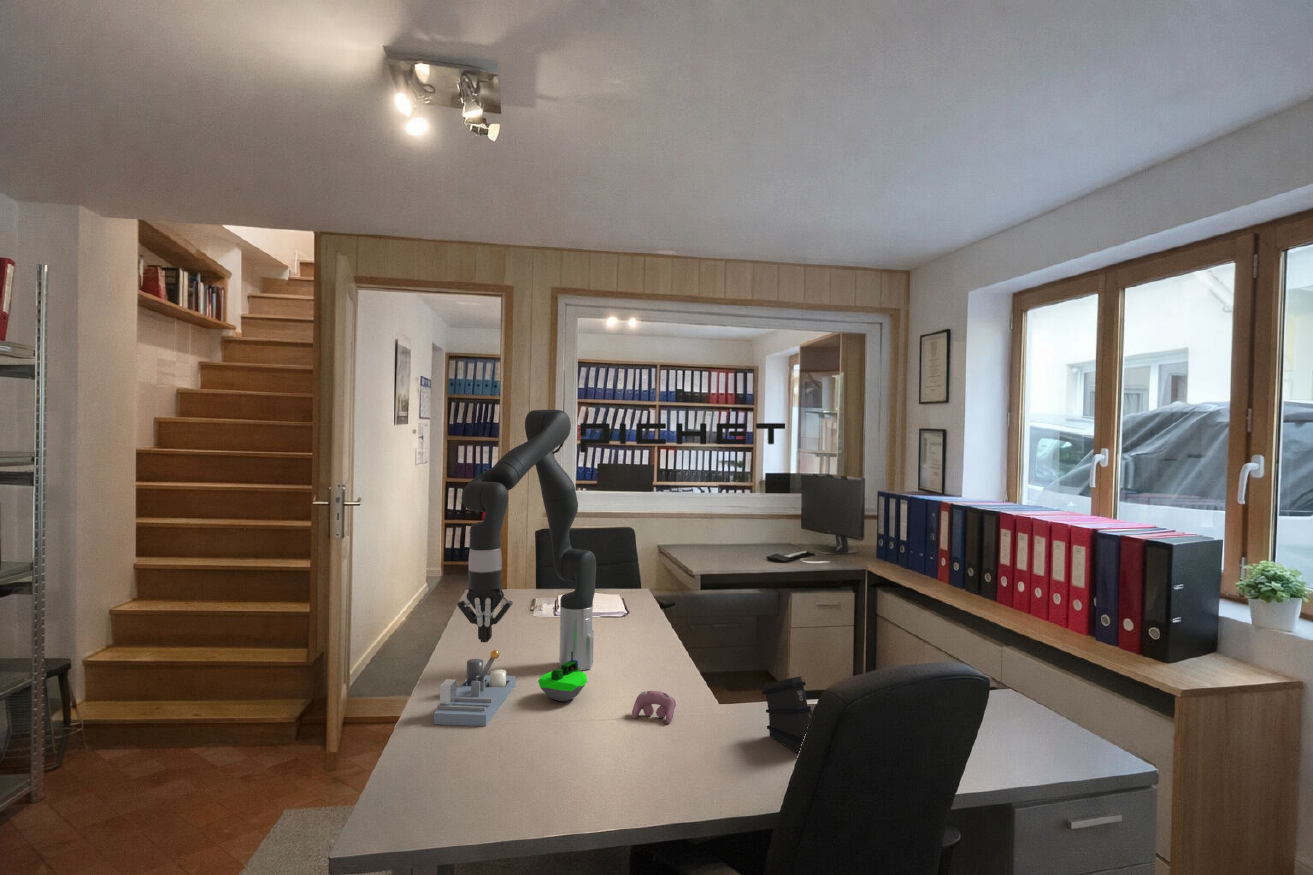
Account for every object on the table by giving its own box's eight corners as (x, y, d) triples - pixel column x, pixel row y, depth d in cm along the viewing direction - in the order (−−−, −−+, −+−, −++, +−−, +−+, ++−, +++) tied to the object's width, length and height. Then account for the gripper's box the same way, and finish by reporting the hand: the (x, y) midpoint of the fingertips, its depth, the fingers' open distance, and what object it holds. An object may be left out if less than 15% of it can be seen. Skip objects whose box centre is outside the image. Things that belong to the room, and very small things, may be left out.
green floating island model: (556, 688, 185) (556, 645, 185) (595, 695, 179) (595, 651, 180) (529, 703, 174) (529, 658, 174) (569, 711, 169) (569, 664, 169)
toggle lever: (481, 686, 174) (502, 651, 174) (478, 689, 172) (499, 654, 171) (474, 681, 174) (494, 646, 174) (470, 685, 172) (491, 649, 171)
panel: (515, 685, 186) (515, 662, 186) (485, 726, 160) (486, 699, 160) (470, 683, 186) (470, 661, 186) (433, 724, 160) (434, 697, 160)
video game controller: (674, 725, 165) (679, 694, 168) (669, 723, 161) (674, 691, 164) (635, 720, 168) (639, 689, 171) (629, 717, 164) (634, 686, 167)
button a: (507, 689, 182) (507, 669, 182) (503, 695, 178) (503, 674, 178) (492, 689, 182) (492, 669, 182) (487, 695, 178) (488, 674, 178)
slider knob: (456, 700, 167) (456, 679, 167) (450, 707, 163) (450, 685, 163) (446, 700, 167) (446, 679, 167) (439, 706, 163) (440, 685, 163)
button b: (484, 679, 182) (485, 658, 182) (480, 684, 178) (480, 663, 178) (469, 678, 182) (469, 658, 182) (464, 683, 178) (464, 663, 178)
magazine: (808, 754, 144) (789, 678, 150) (772, 757, 155) (756, 686, 160) (823, 750, 146) (803, 675, 152) (786, 754, 157) (769, 684, 162)
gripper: (451, 570, 161) (451, 645, 161) (508, 571, 160) (508, 647, 160) (462, 563, 168) (462, 635, 169) (517, 564, 168) (517, 637, 168)
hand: (485, 641), depth 165 cm, fingers closed
